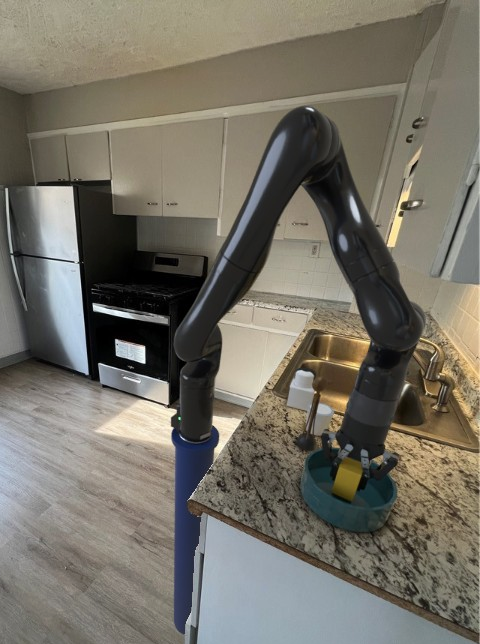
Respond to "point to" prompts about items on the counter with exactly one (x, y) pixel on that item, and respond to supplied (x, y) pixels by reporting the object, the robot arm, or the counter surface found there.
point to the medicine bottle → (301, 389)
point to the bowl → (353, 516)
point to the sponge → (347, 479)
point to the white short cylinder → (320, 418)
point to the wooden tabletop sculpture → (313, 415)
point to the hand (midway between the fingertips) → (346, 482)
